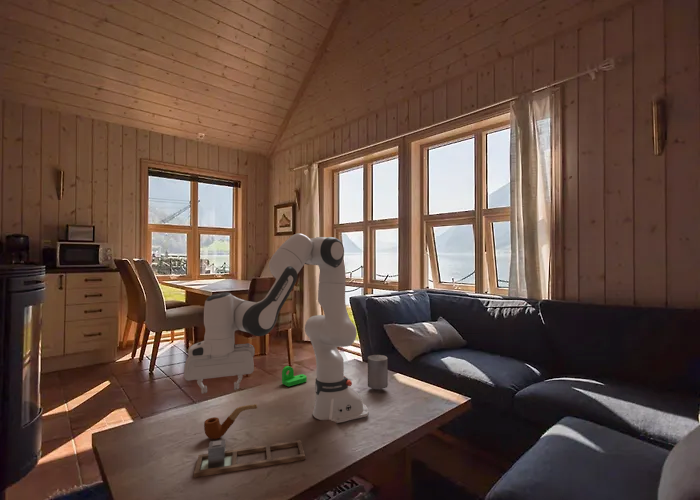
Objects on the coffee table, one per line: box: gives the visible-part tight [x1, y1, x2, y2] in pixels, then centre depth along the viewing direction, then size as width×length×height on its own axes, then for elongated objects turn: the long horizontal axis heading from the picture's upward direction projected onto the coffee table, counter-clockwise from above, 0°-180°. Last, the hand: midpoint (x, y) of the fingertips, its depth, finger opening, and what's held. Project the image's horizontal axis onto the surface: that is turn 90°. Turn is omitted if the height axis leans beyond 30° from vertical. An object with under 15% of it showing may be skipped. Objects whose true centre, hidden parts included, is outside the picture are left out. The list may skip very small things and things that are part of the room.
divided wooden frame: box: [193, 439, 306, 478], centre depth 112 cm, size 32×10×1 cm, turn 106°
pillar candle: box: [367, 354, 389, 390], centre depth 175 cm, size 10×10×15 cm
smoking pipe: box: [203, 403, 258, 440], centre depth 128 cm, size 7×18×6 cm
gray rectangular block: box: [207, 439, 226, 469], centre depth 110 cm, size 4×4×6 cm
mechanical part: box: [281, 365, 308, 387], centre depth 181 cm, size 12×6×8 cm, turn 131°
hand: (220, 390), depth 112 cm, fingers open, 8 cm apart
